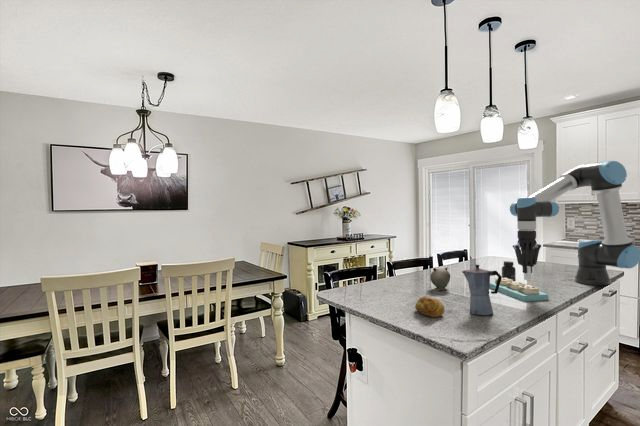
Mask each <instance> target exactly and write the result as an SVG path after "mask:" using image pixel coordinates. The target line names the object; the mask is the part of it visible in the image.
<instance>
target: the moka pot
mask: <svg viewBox="0 0 640 426" xmlns="http://www.w3.org/2000/svg"><path fill="white" fill-rule="evenodd" d="M474 265H475V268H472V269H465V270H463V271H461V273H463V276H464V277H465V279H466V281H467V283H468V284H467V285H468V288H469V293H470V296H469V297H470V298H469V300H470V301H469V313H470V314H472V315H477V316H489V315H493V314H494V311H493V307H492V302H491V297H490V294H492V295H494V294H498V292H499V291H498V289H499V285H500V282H501V279H502V274H500V273H499V272H498V271H497V270H488V269H484V268H483V269H482V268H480V264H474ZM491 276H497V278H498V280H497V284H496V289H495V290H494V291H490V289H491V288H490V282H491Z"/></svg>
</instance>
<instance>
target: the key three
mask: <svg viewBox="0 0 640 426" xmlns="http://www.w3.org/2000/svg"><path fill="white" fill-rule="evenodd" d="M518 291H519V292H522V293H525V294H539V291H540V287H536V286H534V285H533V286H532V285H529V284H528V285H525V286H518Z"/></svg>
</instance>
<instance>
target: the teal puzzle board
mask: <svg viewBox="0 0 640 426" xmlns="http://www.w3.org/2000/svg"><path fill="white" fill-rule="evenodd" d="M496 284H497V283H495V281H490V288H489V289H493V290H494V291H495V289H496ZM498 292H499V293H502V294H504V295H507V296H510V297H512V298H514V299H517V300H519V301H523V302H534V301H536V302H537V301H549V294H548V293H545V292H542V291H540V290H539V294H525V293H522V292H519V291H518V289H517V290H513V289H511V288H508V287H506V285H503V286H502V285H499V289H498Z"/></svg>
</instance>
